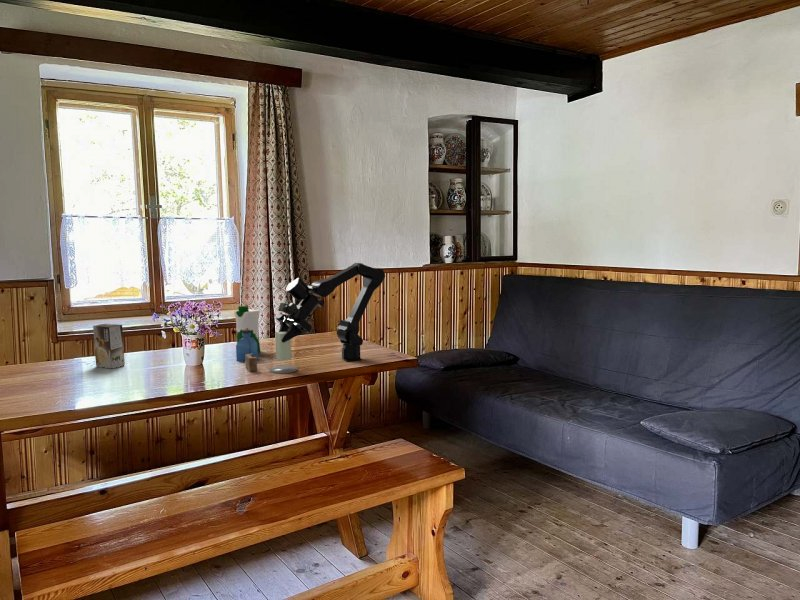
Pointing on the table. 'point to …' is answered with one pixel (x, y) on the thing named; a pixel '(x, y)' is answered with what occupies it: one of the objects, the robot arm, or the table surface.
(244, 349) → the perfume bottle
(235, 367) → the table surface
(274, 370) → the stoneware coaster
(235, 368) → the table surface
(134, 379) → the table surface
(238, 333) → the milk carton
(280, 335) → the sage peg
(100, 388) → the table surface
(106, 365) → the coffee box
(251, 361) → the walnut U-bracket
